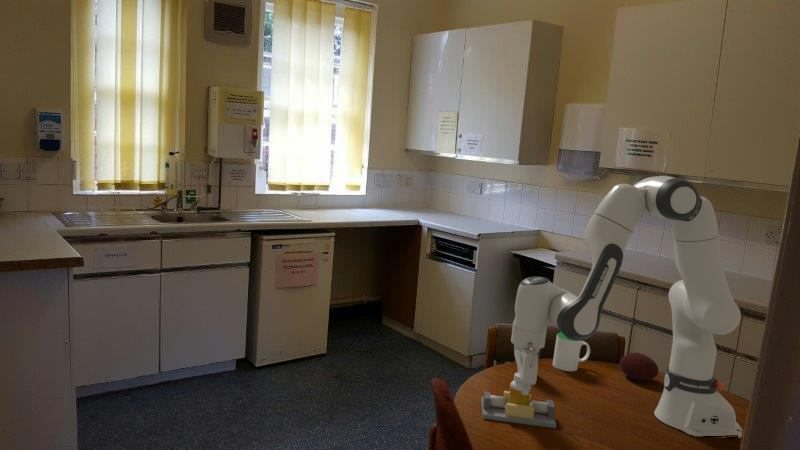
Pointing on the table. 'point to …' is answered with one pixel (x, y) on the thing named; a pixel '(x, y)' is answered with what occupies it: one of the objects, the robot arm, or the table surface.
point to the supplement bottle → (518, 392)
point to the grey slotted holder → (518, 411)
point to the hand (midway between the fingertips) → (522, 386)
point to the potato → (638, 366)
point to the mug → (568, 353)
